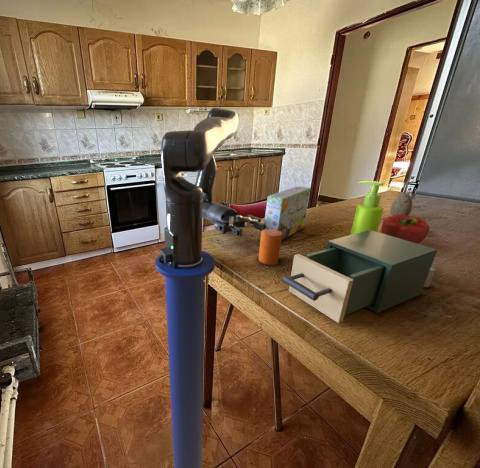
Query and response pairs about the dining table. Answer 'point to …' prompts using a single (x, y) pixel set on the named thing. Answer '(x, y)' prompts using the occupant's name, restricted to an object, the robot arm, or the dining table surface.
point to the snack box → (287, 210)
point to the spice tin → (270, 246)
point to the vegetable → (405, 228)
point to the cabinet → (391, 264)
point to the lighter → (429, 277)
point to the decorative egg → (402, 205)
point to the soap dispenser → (368, 210)
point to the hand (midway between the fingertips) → (253, 230)
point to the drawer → (335, 281)
